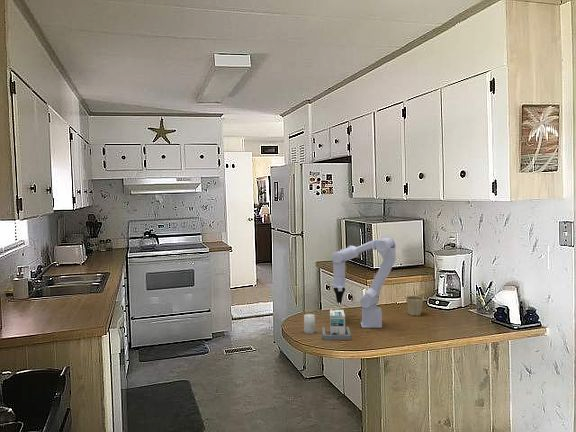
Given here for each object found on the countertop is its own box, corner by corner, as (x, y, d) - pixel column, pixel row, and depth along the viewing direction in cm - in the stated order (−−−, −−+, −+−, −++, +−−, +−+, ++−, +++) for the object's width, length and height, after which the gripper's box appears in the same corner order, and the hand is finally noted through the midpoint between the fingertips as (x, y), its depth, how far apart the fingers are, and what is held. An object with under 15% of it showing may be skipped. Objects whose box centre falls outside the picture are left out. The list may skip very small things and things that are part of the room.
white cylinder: (314, 330, 238) (314, 313, 237) (315, 333, 233) (314, 316, 232) (304, 330, 238) (304, 313, 237) (304, 333, 233) (304, 316, 232)
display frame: (348, 331, 236) (348, 327, 235) (351, 340, 223) (351, 335, 223) (322, 331, 236) (322, 327, 236) (322, 340, 223) (322, 335, 223)
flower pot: (426, 313, 265) (426, 297, 264) (420, 317, 257) (421, 301, 256) (409, 311, 270) (409, 295, 269) (403, 315, 262) (403, 298, 261)
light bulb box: (345, 339, 224) (345, 315, 223) (330, 339, 225) (330, 315, 224) (344, 331, 235) (344, 309, 234) (329, 331, 235) (329, 309, 234)
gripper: (330, 272, 258) (330, 298, 259) (331, 278, 244) (332, 306, 245) (344, 272, 258) (344, 298, 259) (346, 278, 244) (346, 306, 245)
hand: (339, 302), depth 252 cm, fingers closed
